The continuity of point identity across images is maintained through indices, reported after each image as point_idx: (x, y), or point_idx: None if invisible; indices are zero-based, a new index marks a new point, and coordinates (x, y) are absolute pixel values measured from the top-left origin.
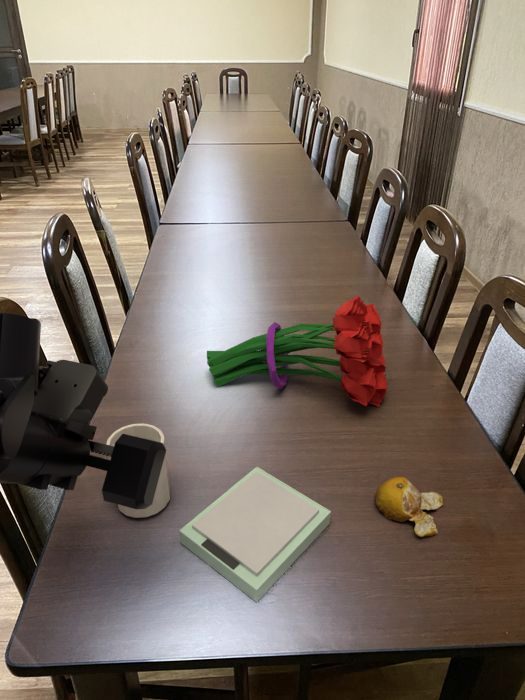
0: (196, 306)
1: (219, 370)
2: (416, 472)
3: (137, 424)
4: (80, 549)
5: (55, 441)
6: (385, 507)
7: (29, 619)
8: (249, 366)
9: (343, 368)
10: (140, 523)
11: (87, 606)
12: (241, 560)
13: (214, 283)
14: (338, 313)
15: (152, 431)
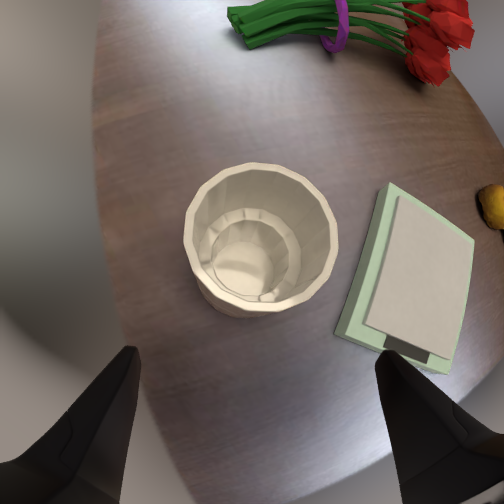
0: None
1: (256, 29)
2: (482, 166)
3: (236, 168)
4: (191, 390)
5: None
6: (495, 221)
7: (193, 487)
8: (293, 24)
9: (416, 43)
10: (258, 319)
11: (255, 459)
12: (434, 351)
13: None
14: None
15: (276, 178)
